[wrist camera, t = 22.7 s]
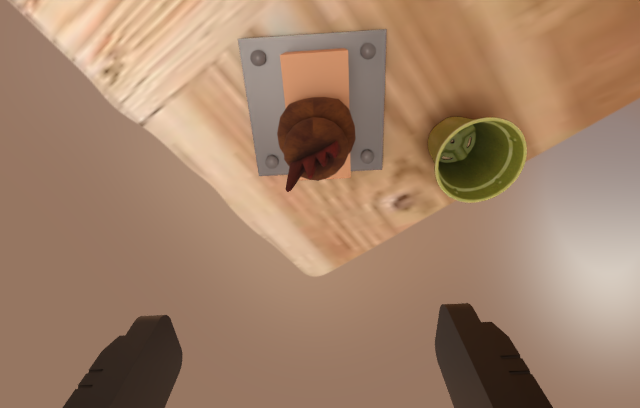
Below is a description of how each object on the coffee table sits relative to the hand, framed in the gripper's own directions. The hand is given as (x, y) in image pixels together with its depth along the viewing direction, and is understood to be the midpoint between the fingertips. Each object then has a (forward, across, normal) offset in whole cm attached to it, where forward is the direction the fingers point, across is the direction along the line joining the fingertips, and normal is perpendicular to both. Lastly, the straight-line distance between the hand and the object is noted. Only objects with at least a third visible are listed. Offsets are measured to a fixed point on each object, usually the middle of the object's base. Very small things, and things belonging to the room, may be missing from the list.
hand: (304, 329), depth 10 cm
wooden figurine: (+27, 0, 0) cm, 27 cm away
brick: (+33, 0, 0) cm, 33 cm away
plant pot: (+34, -17, +5) cm, 39 cm away
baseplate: (+34, 0, 0) cm, 34 cm away
